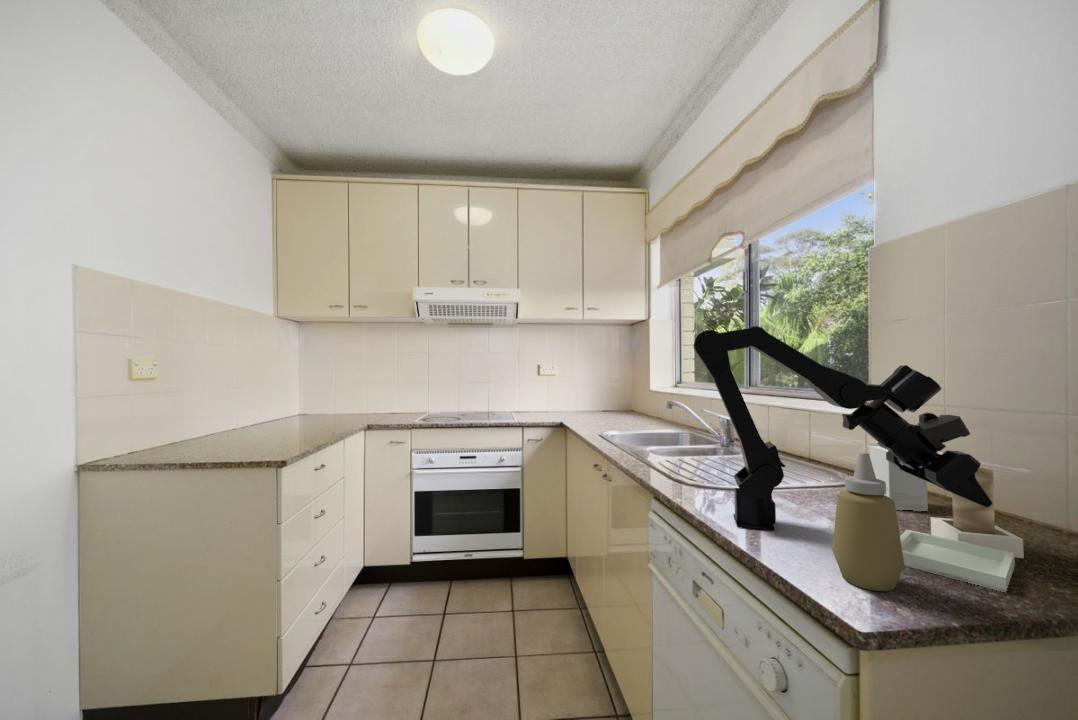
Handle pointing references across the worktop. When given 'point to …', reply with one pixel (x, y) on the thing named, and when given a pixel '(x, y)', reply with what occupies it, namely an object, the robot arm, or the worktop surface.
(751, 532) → the worktop surface
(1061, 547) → the worktop surface
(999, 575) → the sage tray
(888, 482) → the supplement box
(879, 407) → the robot arm
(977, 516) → the maple dowel
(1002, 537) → the socket block
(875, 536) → the squeeze bottle
